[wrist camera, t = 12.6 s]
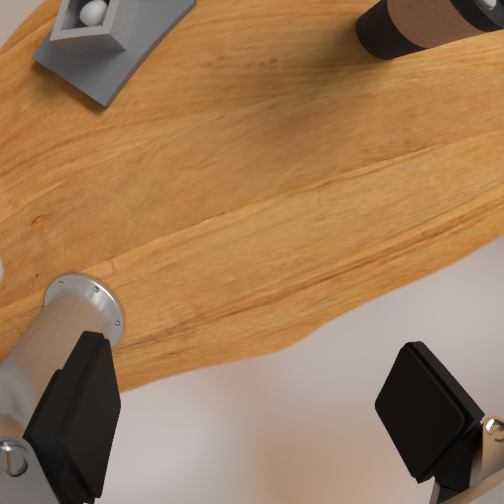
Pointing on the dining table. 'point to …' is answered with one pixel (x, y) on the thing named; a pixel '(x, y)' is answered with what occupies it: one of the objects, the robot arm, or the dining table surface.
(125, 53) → the plate
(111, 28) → the grey hollow block
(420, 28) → the travel mug
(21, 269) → the dining table surface
